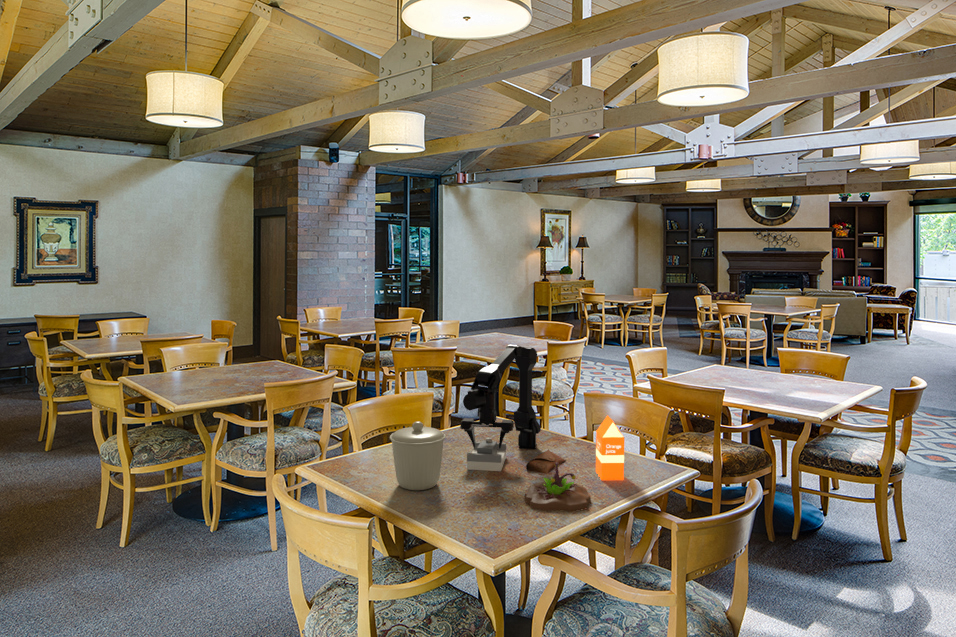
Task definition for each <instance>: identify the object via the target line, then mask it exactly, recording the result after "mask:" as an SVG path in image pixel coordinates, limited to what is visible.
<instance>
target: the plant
mask: <svg viewBox="0 0 956 637" xmlns="http://www.w3.org/2000/svg"><path fill="white" fill-rule="evenodd" d="M559 467H560V465H559V463H558V462H556V463H555V468H554V470H555V472H554V474H553V476H551V477H550V479H549V478H548V477H543V481H544V482H535V483H533V484H532V485H530V486H529V488H528V491H527V492H525V493H524V500H525V504H527V505H529V506H530V508H531V509H534V510H539V511H560V510H563V511H564V512H570V511H572V512H577V511H576V510H580V511H582V510H581V509H583V510H586V509H585V508H587V509H588V507H589V506H588V505H590V504H591V502H592V498H591V495H590V493H589V492H588V490H587V488H586V487H585V486H584V485H579V484H577V483H575V482H574V481H570V482H567V481H568V478H566V477H567V476H570V477H571V479H572V480H576V475H575V474H574V473H572V472H568V473H564V474H562V475H561V476H560V475H559ZM589 503H590V504H589ZM563 511H562V512H563Z"/></svg>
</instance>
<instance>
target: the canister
mask: <svg viewBox="0 0 956 637" xmlns="http://www.w3.org/2000/svg"><path fill="white" fill-rule="evenodd" d="M446 437H447V435H446V434H445V432H443V431H442V430H440V429H437V428H436V427H435V428H434V427H430V426H424V423H423V422H421V421H417V420H416V421H414V422H413V423H412V426H408V427H403V428H400V429H397V430H396V431H394V432H392V433H391V434H390V435H389V440H390V441H391V444H392V446H391V447H392V456H393V462H394V463H393V464H394V468H395V470H394V471H395V476H396V477H395V478H396V481H397V483H398V485H399V486H400V487H401V488H403V489H405V490H409V491H423V490H424V491H425V490H429V489H432V488H433V487H435V486H436V485H437V484H438V482H439V480H440V476H441V469H442V462H443V461H442V460H443V450H444V440H445V439H446Z"/></svg>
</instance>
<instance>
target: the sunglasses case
mask: <svg viewBox="0 0 956 637" xmlns="http://www.w3.org/2000/svg"><path fill="white" fill-rule="evenodd" d="M566 461H567V459H565V458H562V457H561V456H559V455H557V454H556V453H554V452H552V451H551V450H550V449H547V450H546V451H544V452H542V453H539V455H537V456H536V457H534V458H532V459H530V460H529V461H528V462H527V463H526V465H525V468H526V469H525V470H526V471H527V472H534V473H540V474H545V475H548V474H549V473H550V472H551V471H553V469H554V470H555V469H556V467H555V463H556V462H558V463H559V466H560V465H561V464H563V463H565V462H566Z"/></svg>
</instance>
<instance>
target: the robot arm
mask: <svg viewBox="0 0 956 637" xmlns="http://www.w3.org/2000/svg"><path fill="white" fill-rule="evenodd" d="M537 357H538V351H537V350H536V349H535V348H534V347H526V346H520V345H517V344H508V345H506V348H505V349H504V350H503V352H502V353H501V354H499V356H498V357H497V358H496V359H495V360H494V361H493V362H492V363H491V364H490V365H487V366H484V367H482V368H481V369H480V370H478V371H477V373H476V375H475V378H474V380H473V383H472V385H471V387H470V390H467V394H466V395H464V396H463V400H462V404H463V407H464V408H465V409H466V410H467V411H474V410H477V417H478V419H479V420H476V421H475V420H474V418H473V417H472V418H471V417H470V418H469V417H463V418H462V420H461V421H460V427H459V428H460V429H461V430H463V431H464V432H466V433H467V436H468V437H469V438H470V442H471V443H472V446H473V449H474V448H475V442H476V436H475V435H476V434H475V427H480V428H501V430H500V433H499V442H498V443H499V449H500V448H501V445H502V443H504V442H503V441H504V438H505V436H506V434H509V433H510V432H513V431H514V429H515V431H516V432H519V434H518V438H517V439H518V442H517V443H518V444H517V445H518V448H519V449H529V450H536V449H537V445H538V444H537V434H539V433H540V432H541V430H542V426H541V424H540V423H539V422H538V420H537V414H536V412H535V409H534V408H533V405H532V404H533V402H532V401H533V369H534V367H535V366H536V364H537V359H538V358H537ZM513 362H514V363H515V365H516V367H517V369H518V371H519V372H518V374H519V375H518V380H519V381H518V383H519V384H518V392H519V393H518V408H517V409H516V410H514V412H513V419H502V420H501V421H497V411H496V393H498V392H499V388H497V385H498V384H499V382H500V381H501V380H502V377H501V375H502V374H503V372H505V370H506V369H507V368H508V367H509V366H510V365H511V364H512V363H513ZM514 427H515V428H514Z"/></svg>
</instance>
